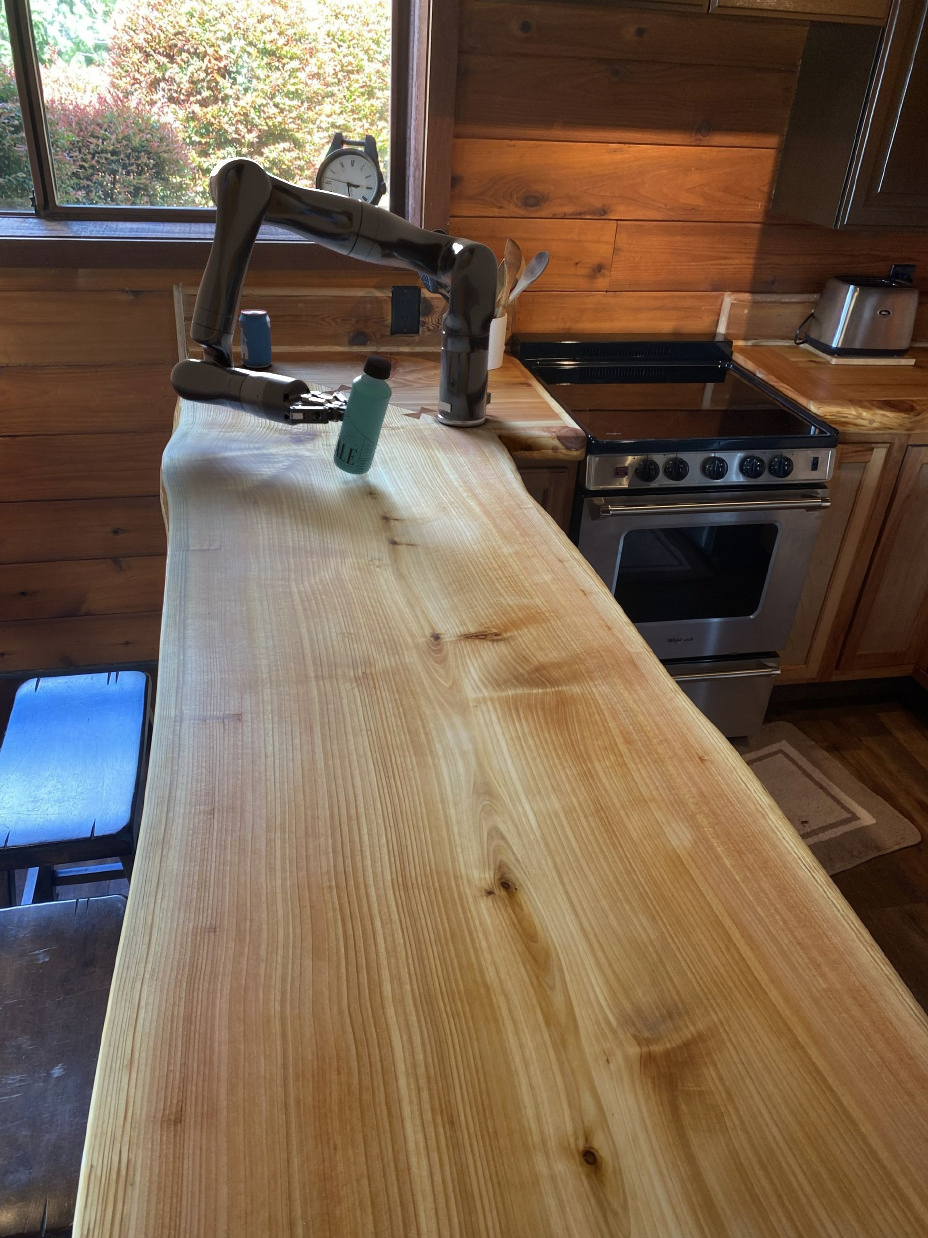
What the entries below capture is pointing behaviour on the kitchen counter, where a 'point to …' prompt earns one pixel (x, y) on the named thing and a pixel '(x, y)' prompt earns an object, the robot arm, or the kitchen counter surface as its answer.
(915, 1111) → the kitchen counter surface
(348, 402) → the beverage bottle
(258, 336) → the soda can
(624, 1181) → the kitchen counter surface
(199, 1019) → the kitchen counter surface
